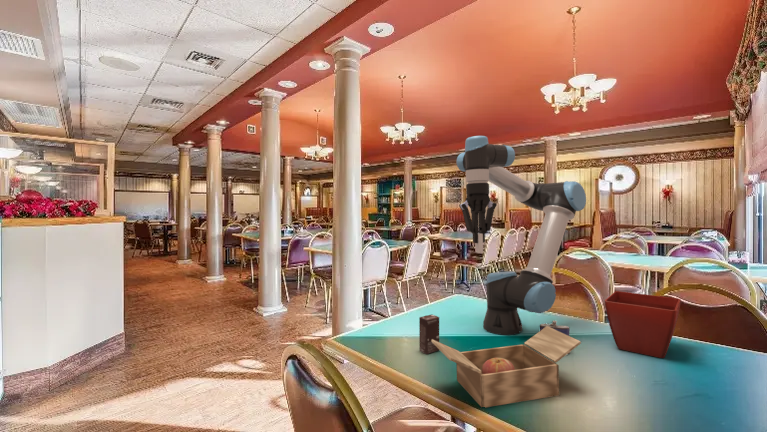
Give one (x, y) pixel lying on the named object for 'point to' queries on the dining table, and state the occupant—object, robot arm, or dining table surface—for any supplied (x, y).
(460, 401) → the dining table surface
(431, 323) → the box
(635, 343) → the plant pot
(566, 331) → the flask
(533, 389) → the carton
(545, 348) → the flap
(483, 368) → the apple
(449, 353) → the flap
